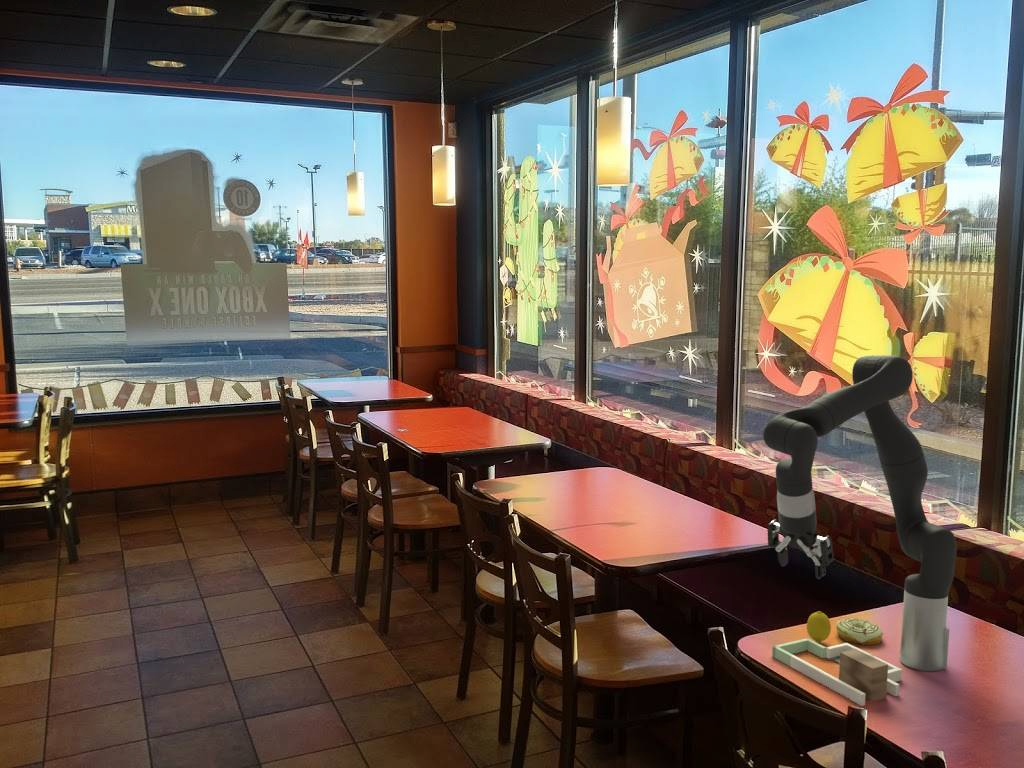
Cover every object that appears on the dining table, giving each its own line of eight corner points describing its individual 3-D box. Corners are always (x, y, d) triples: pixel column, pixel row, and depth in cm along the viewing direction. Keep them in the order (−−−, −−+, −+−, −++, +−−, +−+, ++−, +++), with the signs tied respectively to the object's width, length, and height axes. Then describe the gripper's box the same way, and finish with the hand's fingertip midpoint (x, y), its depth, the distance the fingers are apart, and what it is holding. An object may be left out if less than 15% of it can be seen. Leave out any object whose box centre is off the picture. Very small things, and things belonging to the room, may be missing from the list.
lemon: (831, 648, 218) (833, 616, 217) (807, 646, 219) (809, 614, 218) (828, 639, 223) (829, 608, 222) (804, 637, 224) (806, 606, 223)
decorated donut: (865, 651, 217) (865, 636, 216) (827, 635, 225) (827, 621, 225) (890, 641, 223) (891, 626, 222) (852, 626, 231) (853, 612, 231)
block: (886, 698, 193) (888, 664, 192) (870, 702, 191) (872, 668, 190) (853, 680, 201) (855, 648, 200) (838, 684, 199) (840, 652, 198)
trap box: (920, 689, 196) (920, 678, 196) (861, 706, 189) (862, 694, 188) (846, 652, 215) (846, 642, 215) (790, 666, 207) (790, 655, 207)
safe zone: (825, 657, 212) (826, 647, 212) (790, 666, 207) (790, 655, 207) (807, 648, 218) (807, 638, 217) (772, 656, 213) (772, 646, 212)
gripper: (837, 507, 184) (841, 572, 191) (776, 489, 195) (782, 551, 201) (817, 524, 180) (823, 590, 186) (756, 505, 191) (763, 569, 197)
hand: (801, 570), depth 194 cm, fingers open, 8 cm apart
